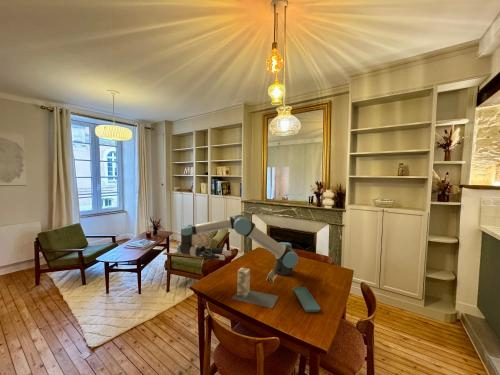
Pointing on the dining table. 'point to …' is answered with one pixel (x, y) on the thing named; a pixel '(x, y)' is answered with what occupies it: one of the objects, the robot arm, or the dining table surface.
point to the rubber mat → (258, 299)
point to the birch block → (243, 282)
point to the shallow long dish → (306, 299)
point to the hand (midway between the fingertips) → (227, 255)
